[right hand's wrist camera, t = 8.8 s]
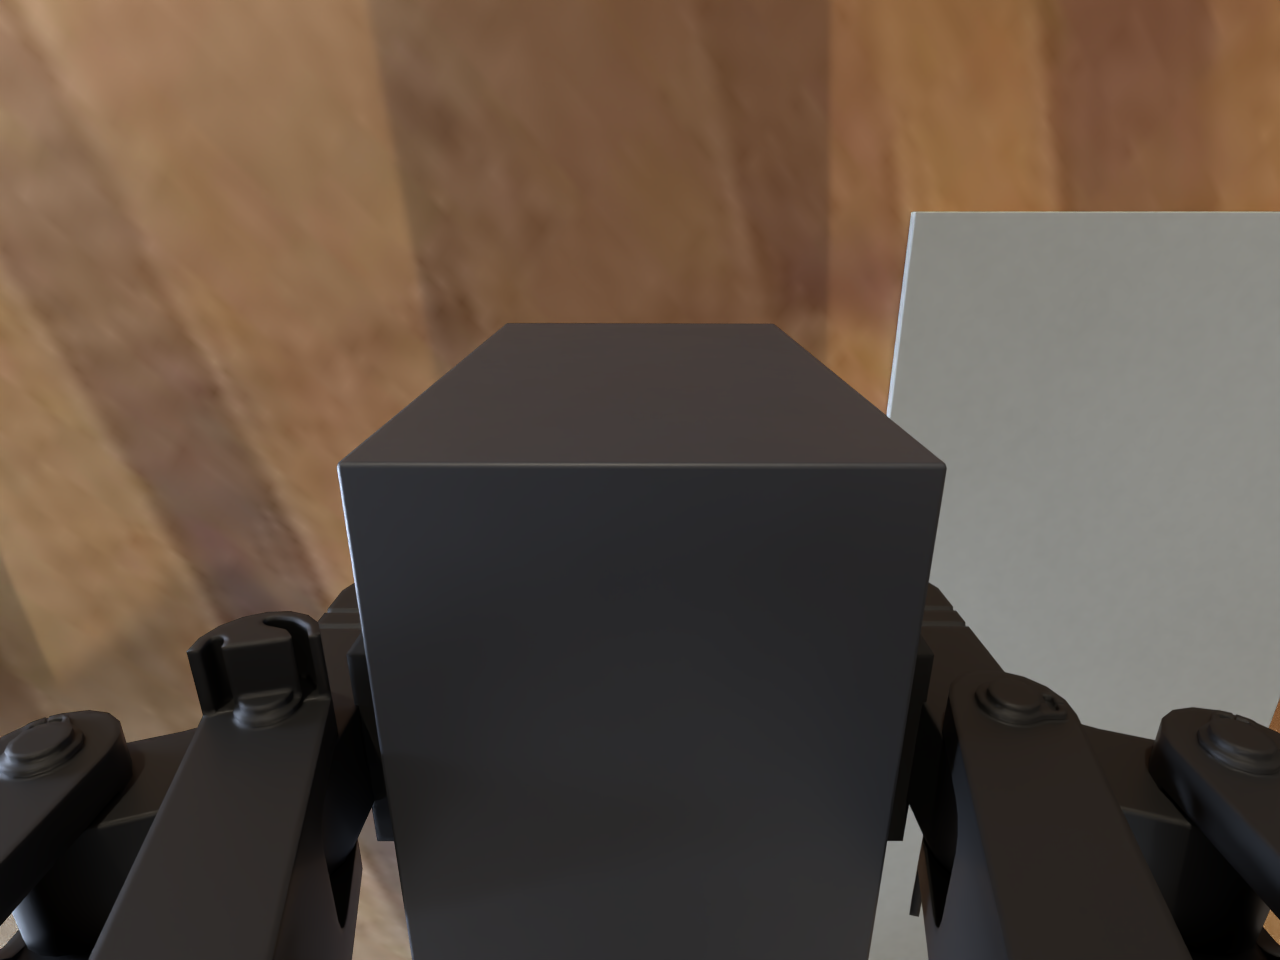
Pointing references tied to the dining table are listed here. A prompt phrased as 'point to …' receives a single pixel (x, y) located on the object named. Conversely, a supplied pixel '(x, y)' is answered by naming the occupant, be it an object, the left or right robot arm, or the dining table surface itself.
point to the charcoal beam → (641, 643)
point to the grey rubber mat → (1098, 462)
